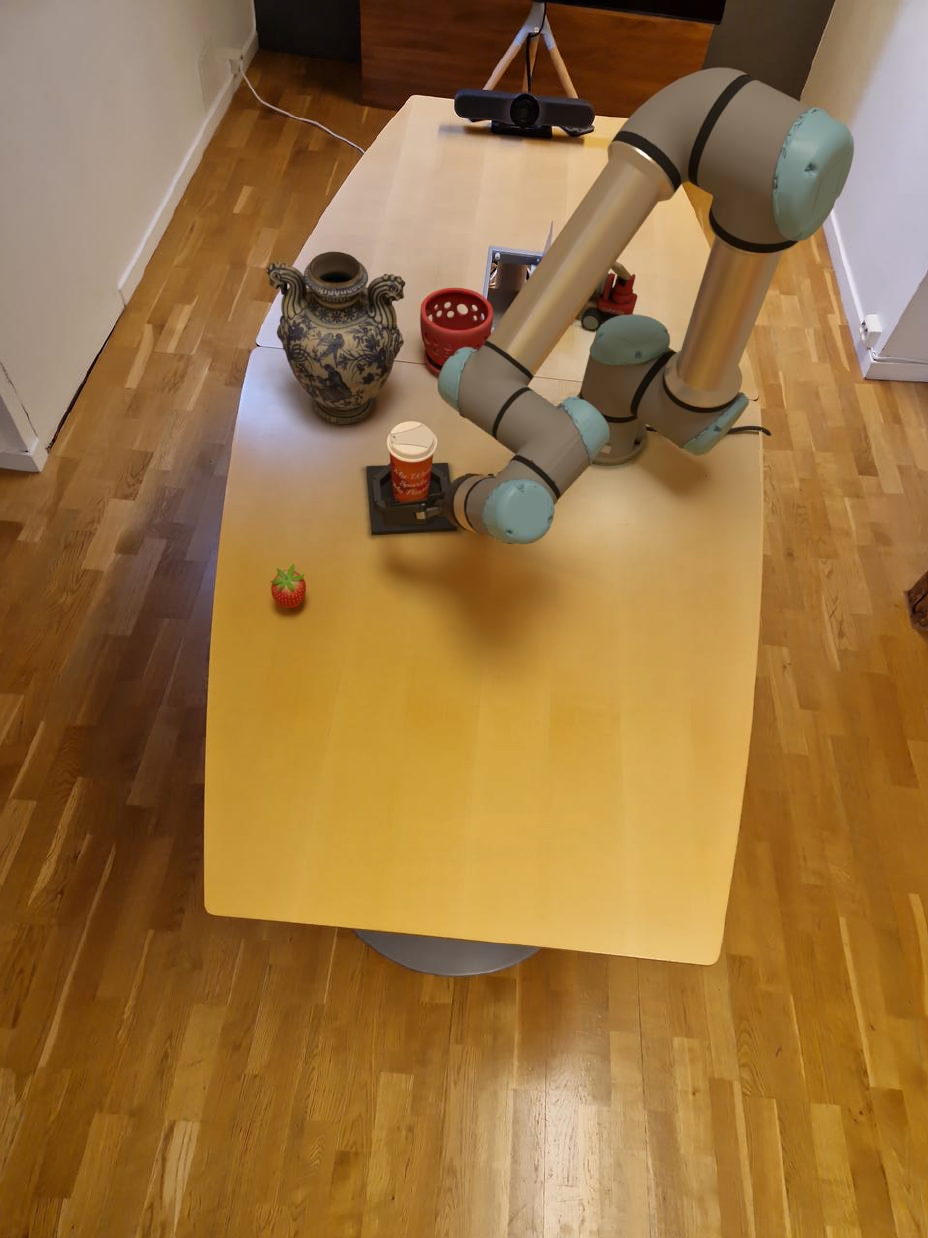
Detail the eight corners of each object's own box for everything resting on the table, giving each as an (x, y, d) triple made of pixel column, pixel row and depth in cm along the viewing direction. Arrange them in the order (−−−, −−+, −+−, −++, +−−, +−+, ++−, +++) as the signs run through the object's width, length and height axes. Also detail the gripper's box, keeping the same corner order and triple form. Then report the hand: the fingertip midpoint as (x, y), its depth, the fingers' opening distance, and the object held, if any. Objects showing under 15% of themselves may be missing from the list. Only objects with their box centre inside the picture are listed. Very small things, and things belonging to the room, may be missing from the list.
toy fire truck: (560, 294, 167) (576, 213, 152) (632, 316, 166) (656, 236, 150) (543, 328, 162) (559, 248, 146) (618, 351, 160) (642, 272, 145)
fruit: (310, 615, 124) (305, 587, 117) (275, 619, 123) (268, 591, 116) (307, 586, 127) (302, 557, 120) (273, 590, 126) (266, 560, 119)
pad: (447, 466, 141) (448, 454, 139) (456, 530, 134) (458, 519, 132) (366, 469, 140) (365, 457, 137) (371, 535, 133) (371, 524, 130)
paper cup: (390, 516, 134) (390, 458, 122) (384, 480, 137) (383, 420, 125) (437, 511, 135) (442, 453, 123) (429, 476, 139) (433, 416, 127)
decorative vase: (406, 371, 153) (409, 234, 129) (399, 445, 143) (401, 312, 119) (292, 362, 152) (273, 222, 128) (277, 436, 142) (253, 300, 118)
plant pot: (500, 356, 157) (507, 303, 146) (463, 395, 150) (468, 343, 140) (443, 328, 159) (446, 274, 149) (405, 365, 153) (405, 312, 143)
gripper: (398, 560, 105) (360, 541, 124) (567, 504, 111) (506, 495, 131) (382, 503, 102) (346, 493, 122) (556, 450, 109) (495, 449, 128)
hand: (429, 494), depth 126 cm, fingers open, 13 cm apart
